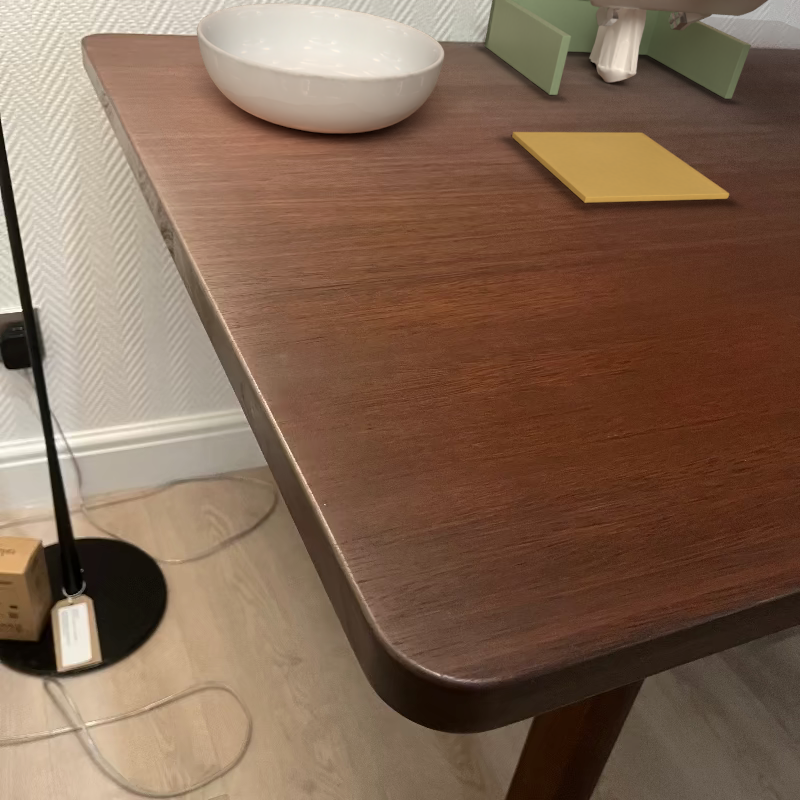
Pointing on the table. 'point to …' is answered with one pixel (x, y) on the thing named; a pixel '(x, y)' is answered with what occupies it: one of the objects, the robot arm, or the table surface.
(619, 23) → the white ridged piece
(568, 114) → the table surface
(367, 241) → the table surface
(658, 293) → the table surface
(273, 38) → the serving bowl
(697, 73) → the cubby
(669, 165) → the board
